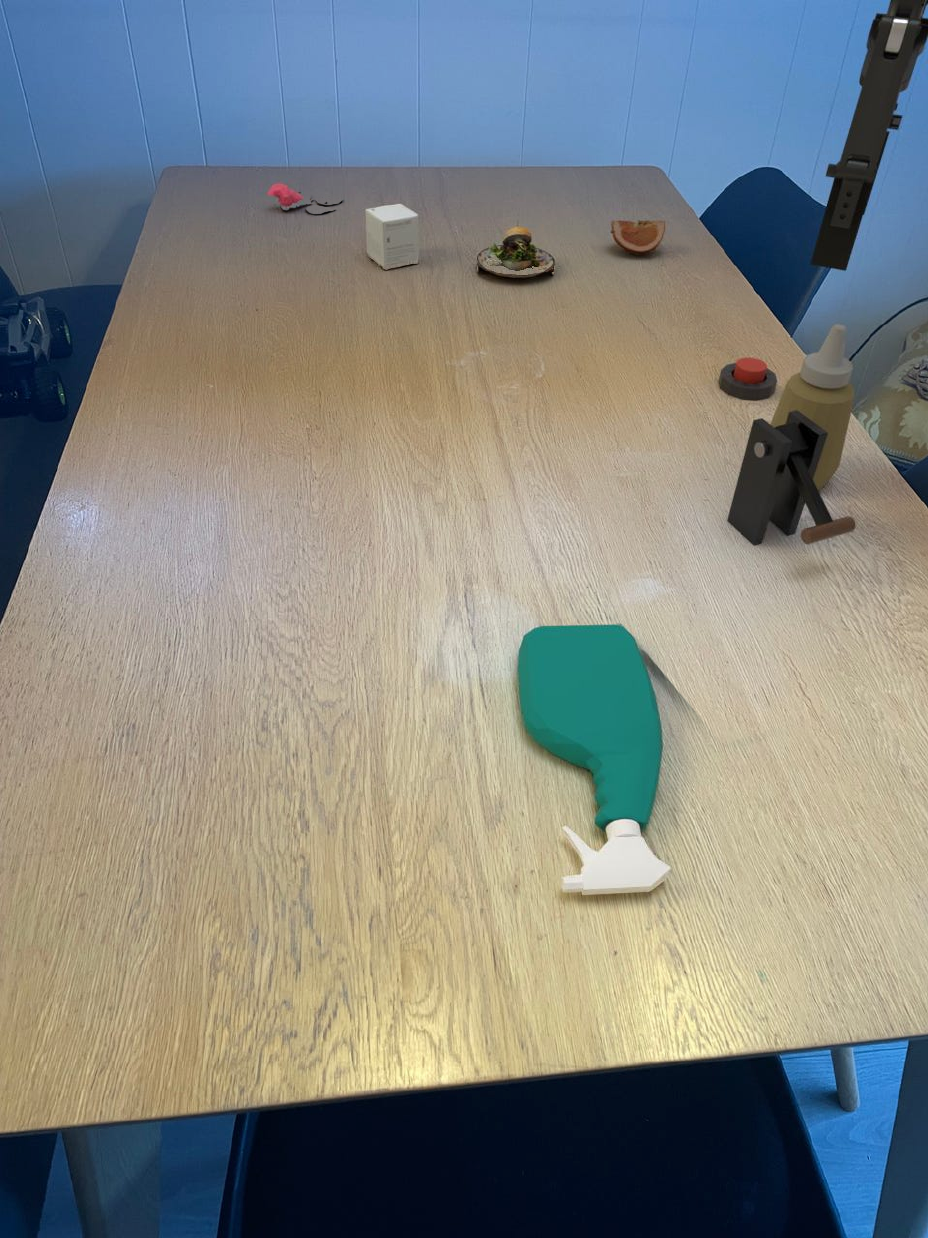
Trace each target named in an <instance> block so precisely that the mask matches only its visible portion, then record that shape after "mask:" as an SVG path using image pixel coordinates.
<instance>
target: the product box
mask: <svg viewBox="0 0 928 1238" xmlns="http://www.w3.org/2000/svg"><path fill="white" fill-rule="evenodd" d="M419 227H420V222H419V214H417V213H416V211H413V210H412V209H410V208H408V207H407V206H405V205H404V204H402V203H396V204H390V205H381V206H376V207H370V208H366V209H365V230H366V231H365V232H366V233H365V234H366V254H367V253H368V254H369V255H370V256H371V257H372V258H374V259H375V260H376V261H377V262H378V263H379V264H381V265H382V266H391V265H396V264H400V263H405V262H409V261H415V260H419V261H420V228H419Z"/></svg>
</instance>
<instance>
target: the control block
mask: <svg viewBox="0 0 928 1238" xmlns="http://www.w3.org/2000/svg"><path fill="white" fill-rule="evenodd" d="M735 366H736V362H733V363H729V364H726V365H725V366H724V367H723V368H721V369H720V373H719V377H718V387H719V389H720V390H721V391H722V392H723V393H725V394H726V395H727V396H730V397H732V398H736V399H738V400H742V401H754V402H757V401H762V400H767V399H769V398H771V397H772V395H773V394H774V393H775V391H776V387H777V384H778V378H777V374H776V373H775V372H774V371H773V370H771V369H769V368H768V367H767V370H766V373H765V377H764V381H763V382H762V383H758V384H750V383H744V382H741V381H738V380H736V379H735V378H734V376H733V375H734V370H735Z"/></svg>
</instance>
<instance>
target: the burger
mask: <svg viewBox="0 0 928 1238" xmlns="http://www.w3.org/2000/svg"><path fill="white" fill-rule="evenodd" d="M517 215H519V213H518V214H517ZM516 225H517V226H515V227H512V228H510V229H508V230H507V231H506V232H505V233H504V234H503V236H502V244H498V245H497V244H496V243H493V246H490V247H489V246H488V247H487V248H484V249H482V250H481V251H480V252H479V253H478V254H477V255H476V265H477V266H478V269H479V270H480V268H481V269H482V270H484V271H486V272H489V273H491V274H494V275H496V276H500V277H504V278H505V277H508V278H515V279H516V278H518V279H519V278H524V279H525V278H530V277H532V278H533V277H535V276H538V275H540V274H544V273H545V272H546V273H548V272H549V271H552V272H554V271H555V270H554V266H555V267H556V260H555V258H554V257H553V255H551V254H550V253H549V252H547V251H545V250H543V249H541V248H538V247H536V245H535V244H533V243H532V241H533V239H532V238H533V237H532V233H531V232H530V230H529V229H527V228H526V227H522V226H519V221H517V223H516ZM531 243H532V244H531ZM494 255H495V256H496V257H497V258H498V259H499V260H501V262H502V263H500V262H498V261H497V260H495V261H492V260H489V258H491V257H494ZM494 259H495V258H494ZM494 259H493V260H494ZM488 260H489V261H492V262H491V263H489V264H492V265H490V266H504V267H506V268H508V269H509V270H515V271H520V270H524V269H526V268H532V266H534V267H539V266H541V267H542V266H545V268H541V269H545V270H541V269H538V270H535V271H539V270H541V272H539V273H533V272H532V273H533V274H531V273H530V274H528V275H525V274H527V273H525V274H522V275H516V274H503V273H497V272H494V271H491V270H489V269H486V268H485V267H484V266H489V265H487V264H488V262H487V263H486V261H488ZM498 263H499V264H498ZM552 268H553V269H552ZM532 269H533V268H532Z"/></svg>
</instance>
